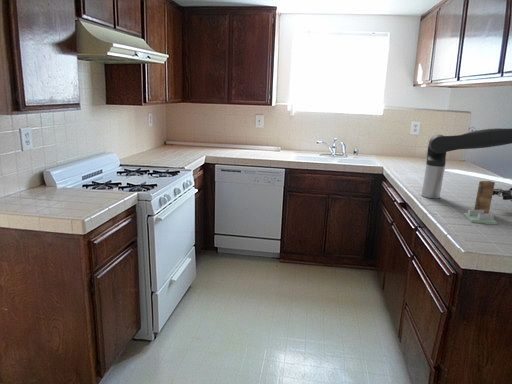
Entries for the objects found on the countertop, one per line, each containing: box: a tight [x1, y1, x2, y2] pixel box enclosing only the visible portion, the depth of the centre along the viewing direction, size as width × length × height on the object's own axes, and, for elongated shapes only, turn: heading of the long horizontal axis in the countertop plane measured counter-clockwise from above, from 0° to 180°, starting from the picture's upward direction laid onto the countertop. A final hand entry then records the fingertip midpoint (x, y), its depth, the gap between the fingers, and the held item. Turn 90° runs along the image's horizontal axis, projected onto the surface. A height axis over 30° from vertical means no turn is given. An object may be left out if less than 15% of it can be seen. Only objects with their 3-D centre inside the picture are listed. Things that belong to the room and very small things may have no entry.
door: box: [473, 180, 496, 213], centre depth 189 cm, size 3×7×15 cm, turn 108°
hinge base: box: [464, 209, 498, 225], centre depth 179 cm, size 11×10×4 cm
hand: (495, 195), depth 191 cm, fingers open, 8 cm apart
